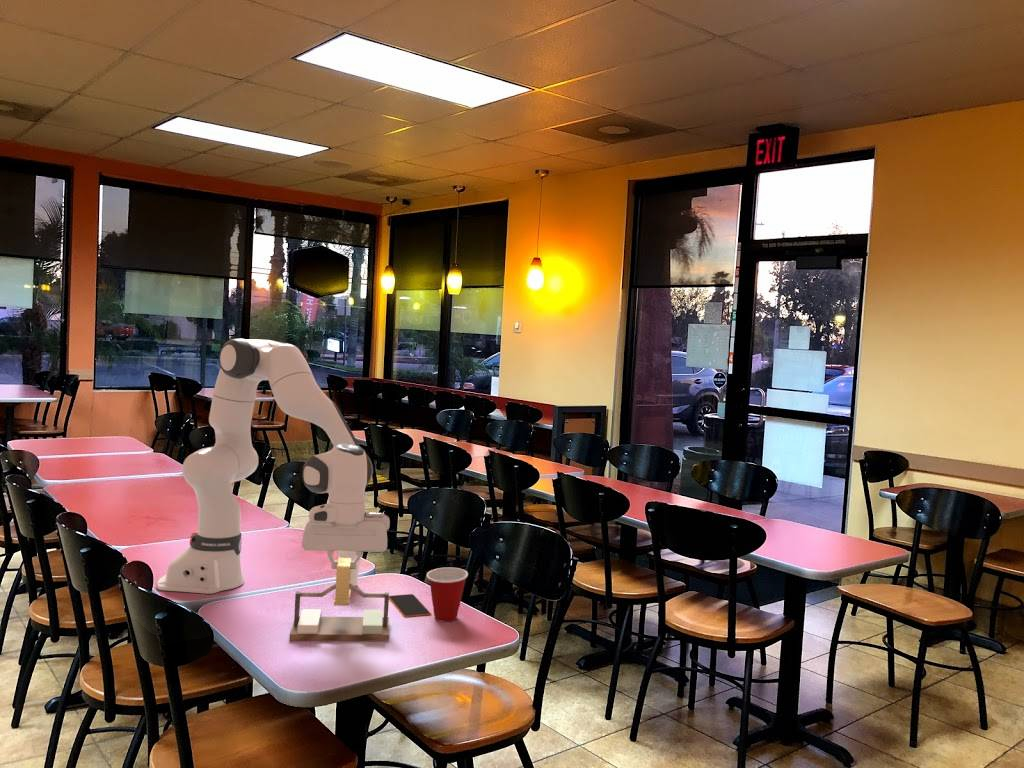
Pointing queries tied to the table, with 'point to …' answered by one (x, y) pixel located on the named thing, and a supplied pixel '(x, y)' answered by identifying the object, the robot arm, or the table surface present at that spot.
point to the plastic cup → (446, 591)
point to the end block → (372, 622)
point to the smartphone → (409, 605)
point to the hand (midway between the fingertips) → (343, 568)
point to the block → (309, 621)
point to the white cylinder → (353, 571)
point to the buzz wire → (340, 622)
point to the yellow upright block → (342, 582)
